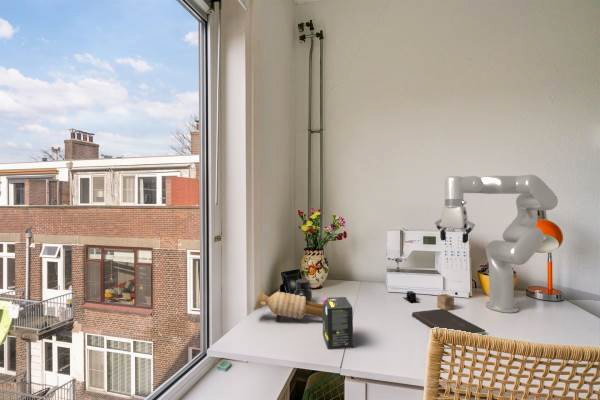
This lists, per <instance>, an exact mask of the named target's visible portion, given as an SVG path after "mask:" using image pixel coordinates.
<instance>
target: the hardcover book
mask: <svg viewBox="0 0 600 400" xmlns="http://www.w3.org/2000/svg"><path fill="white" fill-rule="evenodd" d="M411 316H412V318H415V320H417V321H419V322H420V323H421V324H423V325H425V326H427V327H428V328H430V329H431V328H434V327H439V328H447V329H454V330H461V331H466V332H471V333H478V334H484V335H485V332H486V330H485V329H484V328H482V327H480V326H478V325H476V324H474V323H473V322H472V323H471V322H470V321H468V320H466V319H465V318H462V317H460V316H457V315H456V314H455V313H452V312H450V311H447V310H445V309H440V308H437V309H429V310H421V311H413V312H412V314H411Z"/></svg>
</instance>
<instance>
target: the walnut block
mask: <svg viewBox="0 0 600 400" xmlns="http://www.w3.org/2000/svg"><path fill="white" fill-rule="evenodd" d="M436 298H437V299H436V301H437V304H436V305H437V309H445V310H447V311H448V312H450V311H455V296H452V295H450V294H447V293H444V294H443V293H442V294H437V296H436Z"/></svg>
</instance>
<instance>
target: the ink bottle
mask: <svg viewBox="0 0 600 400" xmlns="http://www.w3.org/2000/svg"><path fill="white" fill-rule="evenodd" d="M310 283H311V281H310V280H309V279H306V278H299V279H296V280H295V288H296V289H295V290H294V291H293V294H295V295H300V296H305V297H306V300H307V301H309V302H313V293H312V290H311V289H310V288H311V284H310Z"/></svg>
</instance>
